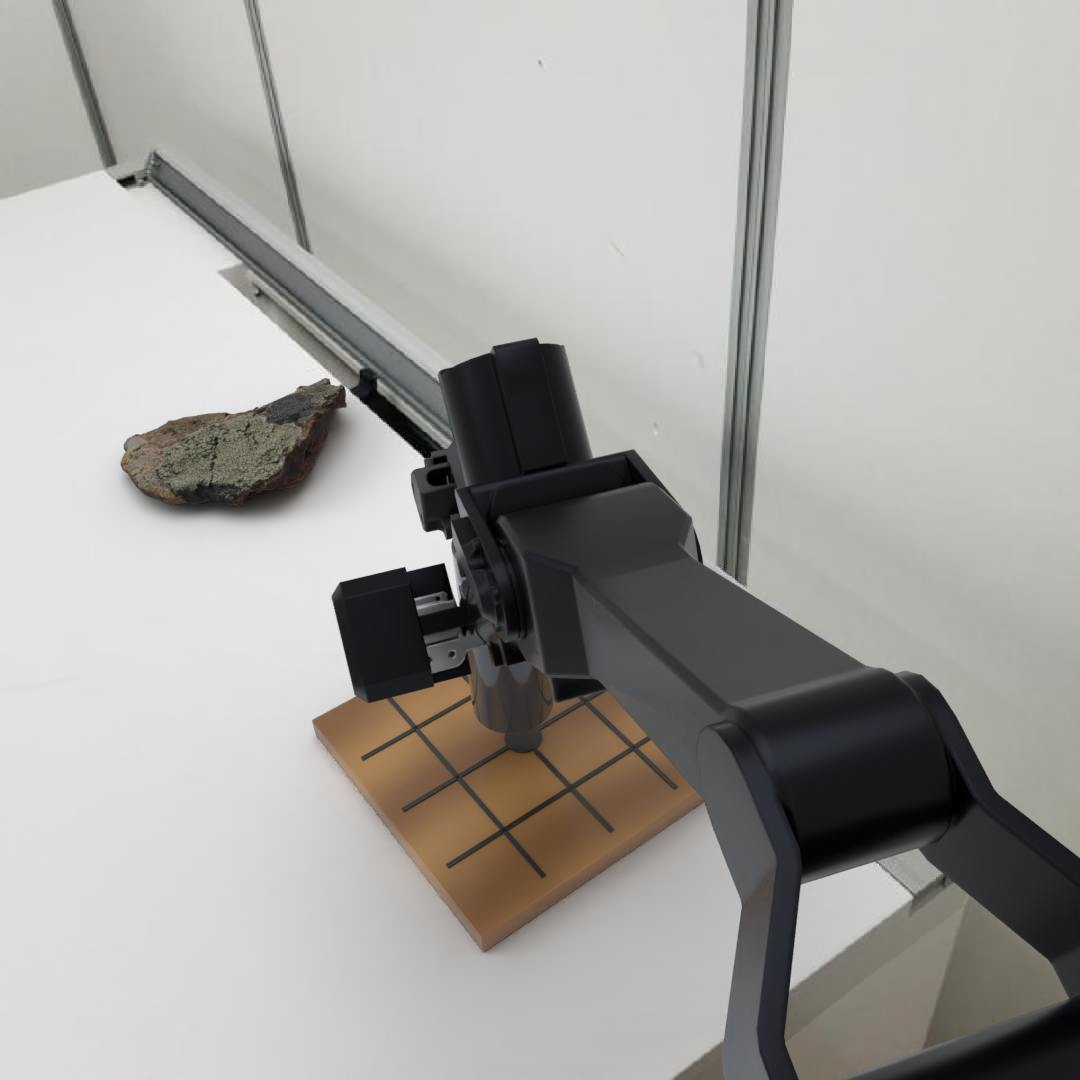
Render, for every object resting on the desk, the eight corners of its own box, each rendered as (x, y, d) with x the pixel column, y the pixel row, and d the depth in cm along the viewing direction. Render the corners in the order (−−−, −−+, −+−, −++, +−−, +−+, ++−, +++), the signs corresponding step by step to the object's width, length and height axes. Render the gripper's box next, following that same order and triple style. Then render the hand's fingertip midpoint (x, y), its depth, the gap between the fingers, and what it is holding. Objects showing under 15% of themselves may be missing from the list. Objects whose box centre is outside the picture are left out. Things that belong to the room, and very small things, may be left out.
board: (746, 773, 72) (747, 756, 71) (483, 953, 64) (481, 937, 63) (555, 603, 85) (554, 587, 84) (315, 734, 76) (310, 718, 75)
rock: (110, 540, 93) (92, 491, 90) (133, 422, 106) (118, 376, 103) (357, 506, 95) (347, 457, 92) (349, 394, 108) (341, 348, 105)
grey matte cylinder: (539, 741, 68) (526, 578, 60) (460, 724, 70) (437, 563, 61) (563, 681, 72) (554, 520, 64) (488, 666, 73) (469, 506, 65)
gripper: (691, 381, 55) (615, 445, 70) (301, 464, 51) (310, 513, 66) (751, 608, 54) (660, 623, 69) (359, 709, 50) (355, 702, 66)
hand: (499, 610), depth 68 cm, fingers closed on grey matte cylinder, 5 cm apart
